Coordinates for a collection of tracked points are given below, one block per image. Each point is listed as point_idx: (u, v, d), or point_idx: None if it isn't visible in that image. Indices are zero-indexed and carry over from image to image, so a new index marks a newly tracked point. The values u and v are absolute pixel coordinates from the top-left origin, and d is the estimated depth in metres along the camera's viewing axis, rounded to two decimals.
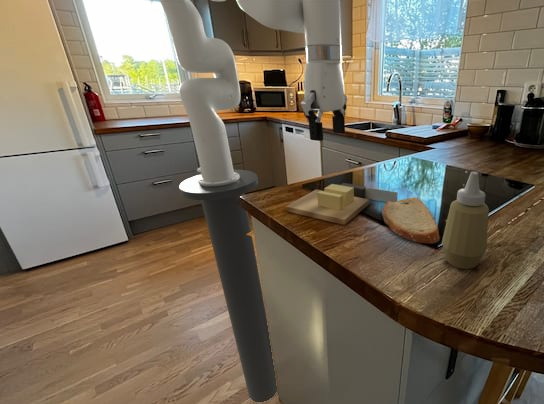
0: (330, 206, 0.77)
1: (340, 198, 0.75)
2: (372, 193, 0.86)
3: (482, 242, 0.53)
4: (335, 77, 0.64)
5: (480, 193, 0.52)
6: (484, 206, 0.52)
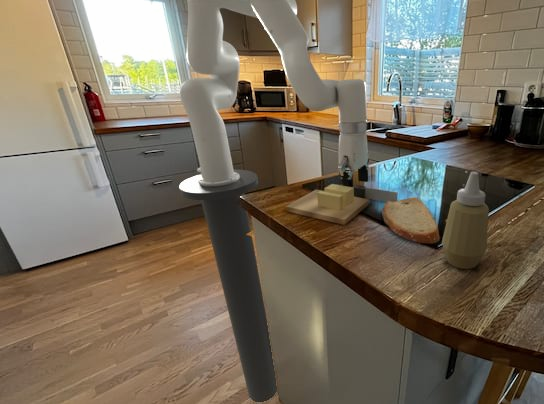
0: (330, 206, 0.77)
1: (340, 198, 0.75)
2: (372, 193, 0.86)
3: (482, 242, 0.53)
4: (362, 143, 0.82)
5: (480, 193, 0.52)
6: (484, 206, 0.52)
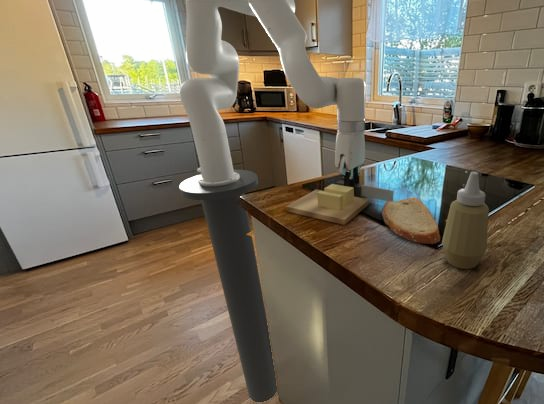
0: (330, 206, 0.77)
1: (340, 198, 0.75)
2: (369, 191, 0.86)
3: (482, 242, 0.53)
4: (359, 142, 0.82)
5: (480, 193, 0.52)
6: (484, 206, 0.52)
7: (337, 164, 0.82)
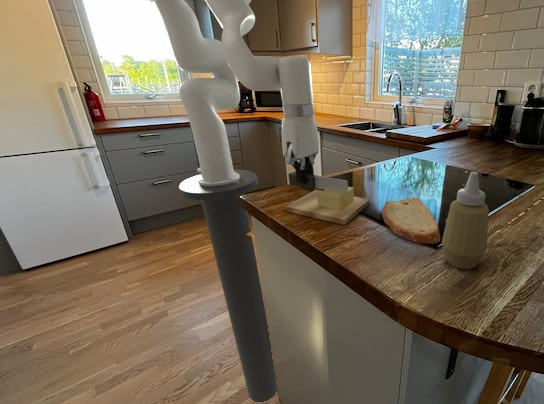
0: (330, 206, 0.77)
1: (340, 198, 0.75)
2: (322, 182, 0.79)
3: (482, 242, 0.53)
4: (308, 128, 0.75)
5: (480, 193, 0.52)
6: (484, 206, 0.52)
7: (284, 153, 0.75)
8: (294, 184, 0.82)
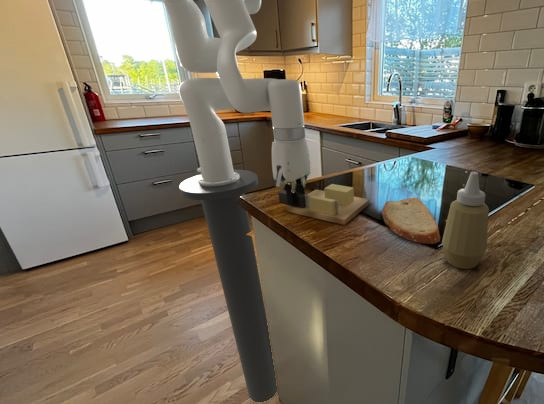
0: (322, 211, 0.74)
1: (332, 203, 0.72)
2: None
3: (482, 242, 0.53)
4: (299, 151, 0.73)
5: (480, 193, 0.52)
6: (484, 206, 0.52)
7: (275, 176, 0.73)
8: (284, 203, 0.80)
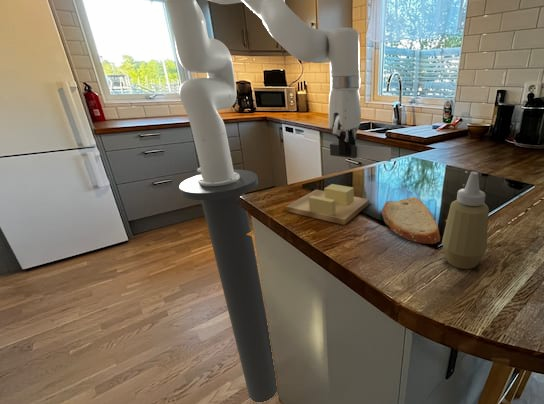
0: (322, 211, 0.74)
1: (332, 203, 0.72)
2: (365, 151, 0.80)
3: (482, 242, 0.53)
4: (354, 101, 0.77)
5: (480, 193, 0.52)
6: (484, 206, 0.52)
7: (331, 124, 0.76)
8: (335, 154, 0.84)
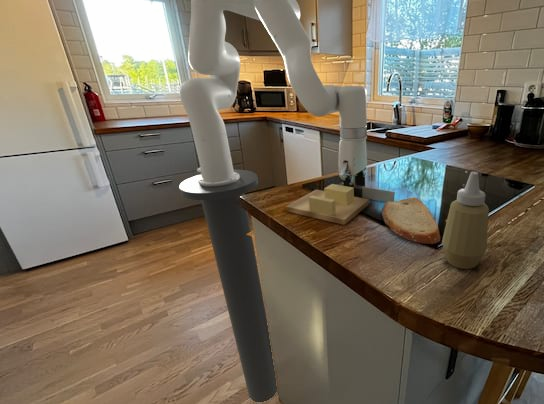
0: (322, 211, 0.74)
1: (332, 203, 0.72)
2: (370, 193, 0.86)
3: (482, 242, 0.53)
4: (361, 148, 0.84)
5: (480, 193, 0.52)
6: (484, 206, 0.52)
7: (341, 170, 0.83)
8: None
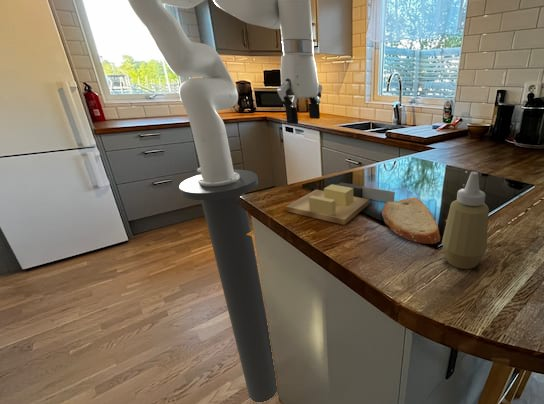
0: (322, 211, 0.74)
1: (332, 203, 0.72)
2: (370, 193, 0.86)
3: (482, 242, 0.53)
4: (308, 68, 0.74)
5: (480, 193, 0.52)
6: (484, 206, 0.52)
7: None
8: None
